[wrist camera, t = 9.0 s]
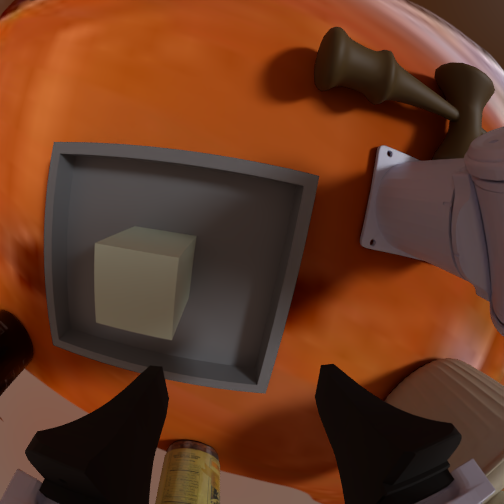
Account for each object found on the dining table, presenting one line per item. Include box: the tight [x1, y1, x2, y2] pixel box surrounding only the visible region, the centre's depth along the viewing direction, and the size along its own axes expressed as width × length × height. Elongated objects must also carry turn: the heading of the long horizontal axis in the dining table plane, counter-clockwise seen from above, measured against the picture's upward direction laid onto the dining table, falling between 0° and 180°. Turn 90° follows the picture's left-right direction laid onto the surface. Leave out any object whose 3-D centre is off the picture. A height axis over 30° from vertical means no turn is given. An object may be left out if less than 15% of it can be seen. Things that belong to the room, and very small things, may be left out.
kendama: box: [314, 27, 495, 160], centre depth 15 cm, size 6×10×20 cm
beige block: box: [94, 226, 197, 340], centre depth 16 cm, size 4×4×6 cm
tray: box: [44, 142, 319, 393], centre depth 18 cm, size 18×16×3 cm
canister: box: [384, 358, 504, 504], centre depth 15 cm, size 18×18×21 cm
